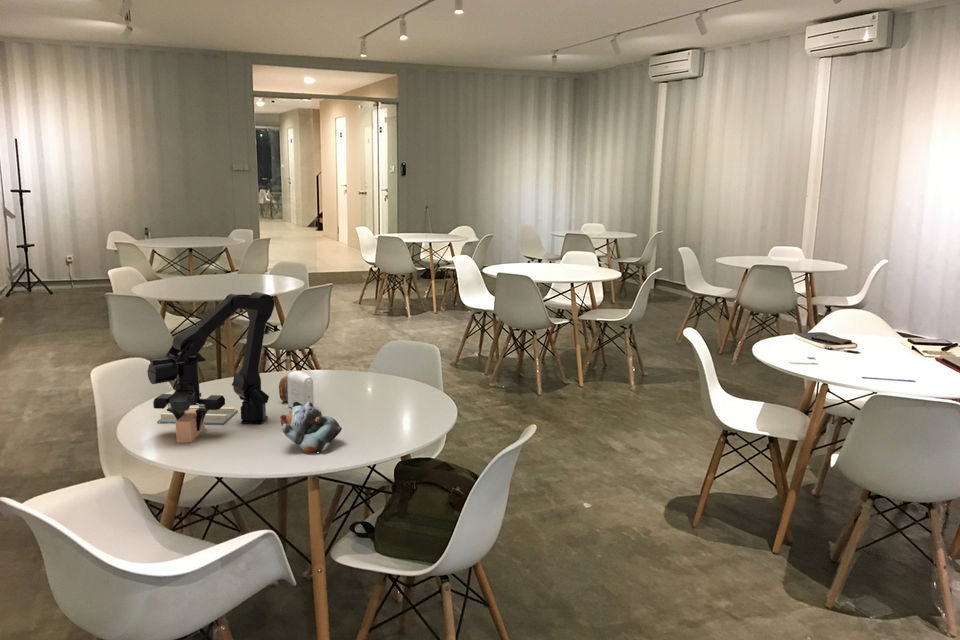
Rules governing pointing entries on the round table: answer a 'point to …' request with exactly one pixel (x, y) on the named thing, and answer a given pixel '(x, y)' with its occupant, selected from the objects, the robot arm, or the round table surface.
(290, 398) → the photo printer
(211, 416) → the slot mat
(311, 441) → the lucky cat figurine
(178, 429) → the pink rectangular brick
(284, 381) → the tin
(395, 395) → the round table surface
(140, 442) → the round table surface
